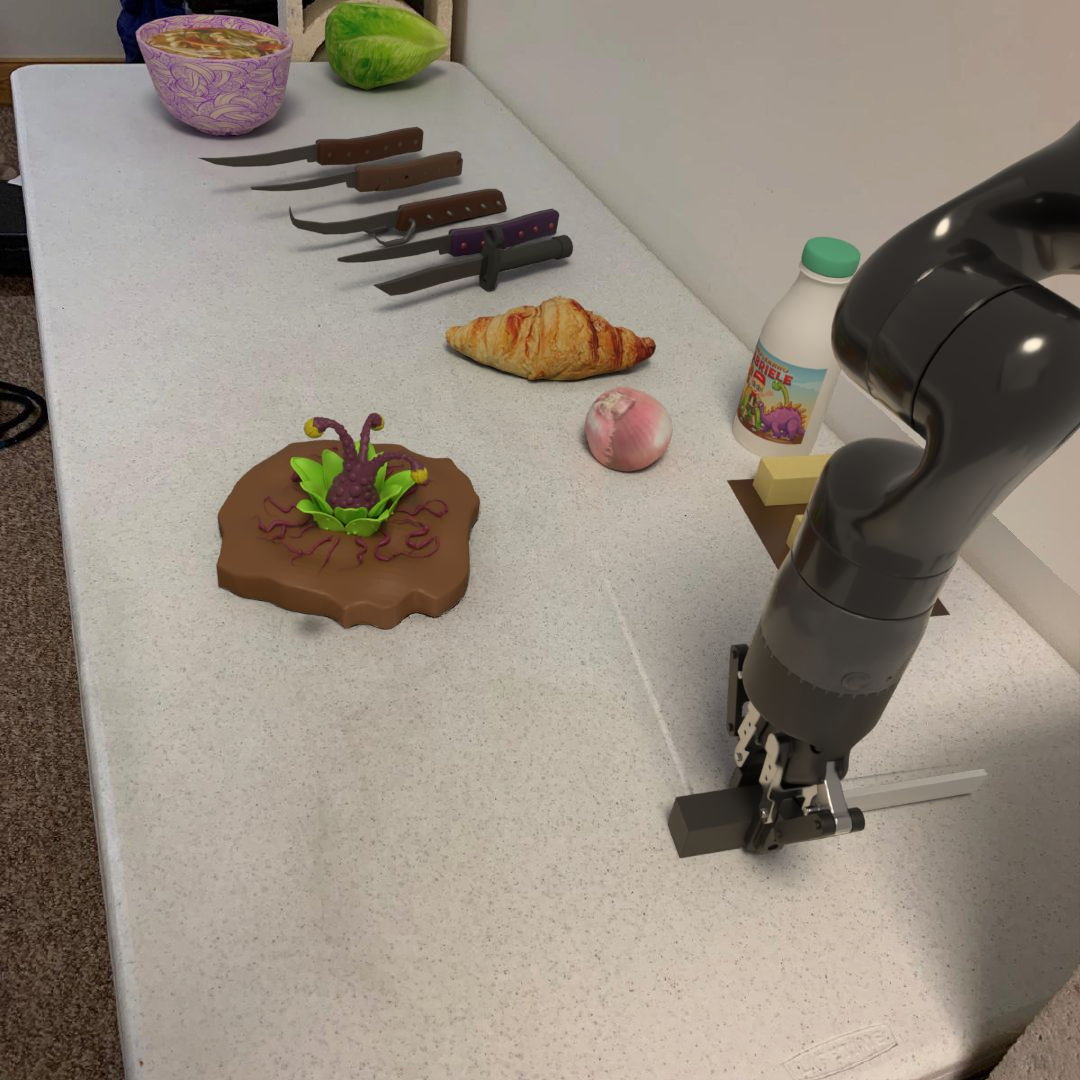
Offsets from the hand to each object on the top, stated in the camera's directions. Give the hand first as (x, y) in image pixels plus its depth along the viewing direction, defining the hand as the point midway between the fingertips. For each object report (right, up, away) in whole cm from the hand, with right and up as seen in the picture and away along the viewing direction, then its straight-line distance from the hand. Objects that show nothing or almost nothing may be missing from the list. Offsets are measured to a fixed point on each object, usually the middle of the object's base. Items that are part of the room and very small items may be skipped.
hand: (751, 822), depth 62 cm
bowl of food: (-57, +75, +77) cm, 122 cm away
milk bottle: (+9, +26, +33) cm, 43 cm away
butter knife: (+5, 0, +2) cm, 6 cm away
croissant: (-12, +36, +40) cm, 55 cm away
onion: (-6, +25, +28) cm, 38 cm away
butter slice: (+10, +22, +26) cm, 35 cm away
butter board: (+11, +17, +22) cm, 29 cm away
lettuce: (-37, +90, +98) cm, 138 cm away
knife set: (-30, +54, +58) cm, 85 cm away
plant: (-28, +18, +17) cm, 37 cm away
